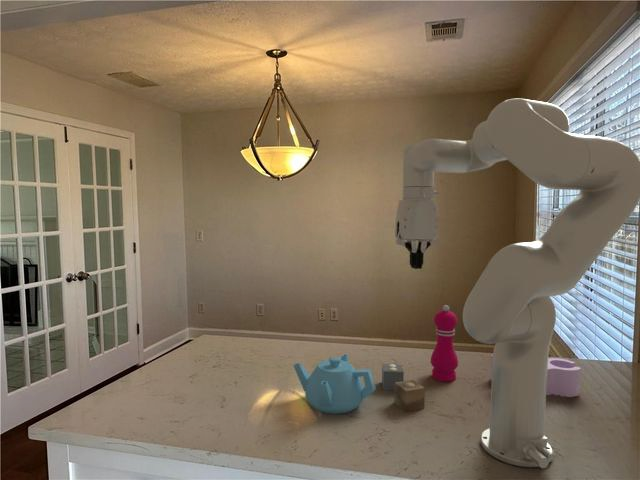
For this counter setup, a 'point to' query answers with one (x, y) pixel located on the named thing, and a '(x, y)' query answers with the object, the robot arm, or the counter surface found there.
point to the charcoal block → (391, 375)
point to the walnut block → (409, 395)
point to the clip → (561, 377)
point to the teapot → (335, 385)
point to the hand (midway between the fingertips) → (416, 267)
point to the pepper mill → (444, 346)
